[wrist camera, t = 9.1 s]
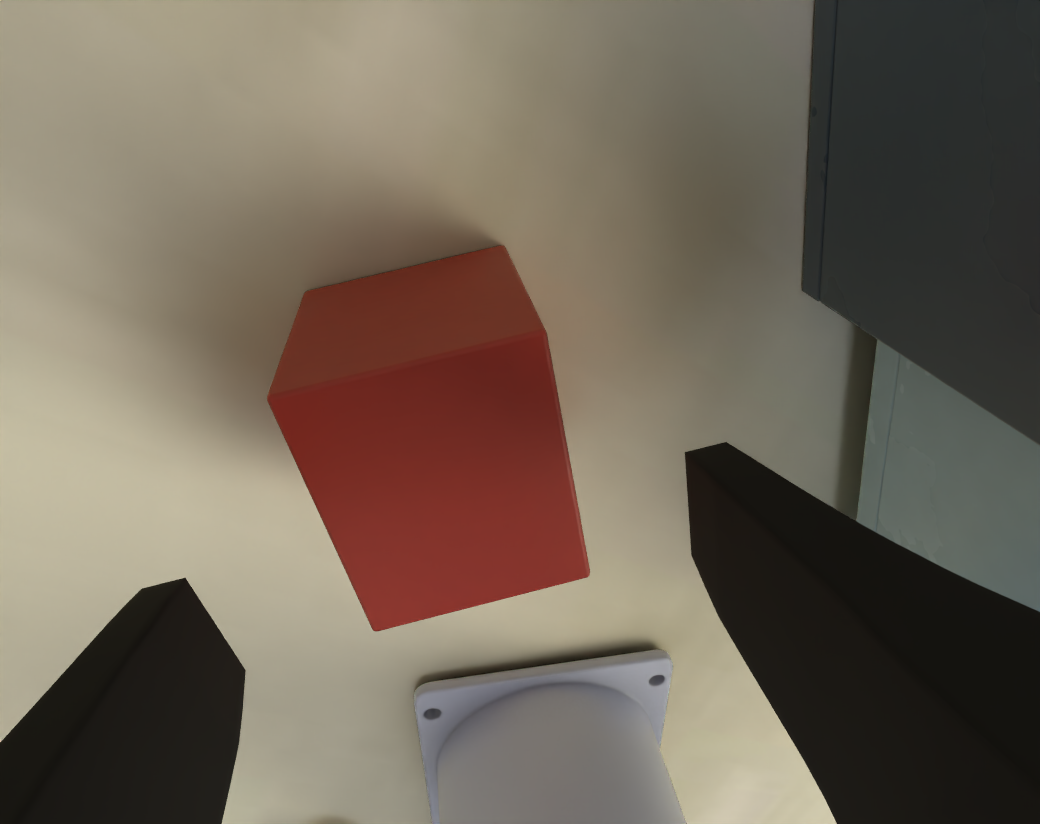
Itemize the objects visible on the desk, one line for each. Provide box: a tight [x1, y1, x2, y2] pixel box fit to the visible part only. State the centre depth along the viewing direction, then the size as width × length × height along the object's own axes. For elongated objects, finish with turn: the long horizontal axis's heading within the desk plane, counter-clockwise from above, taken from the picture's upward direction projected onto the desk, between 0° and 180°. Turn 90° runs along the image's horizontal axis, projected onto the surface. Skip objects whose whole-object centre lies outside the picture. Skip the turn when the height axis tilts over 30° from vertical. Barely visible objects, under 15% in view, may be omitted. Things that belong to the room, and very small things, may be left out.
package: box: [267, 245, 590, 631], centre depth 13 cm, size 5×4×4 cm
